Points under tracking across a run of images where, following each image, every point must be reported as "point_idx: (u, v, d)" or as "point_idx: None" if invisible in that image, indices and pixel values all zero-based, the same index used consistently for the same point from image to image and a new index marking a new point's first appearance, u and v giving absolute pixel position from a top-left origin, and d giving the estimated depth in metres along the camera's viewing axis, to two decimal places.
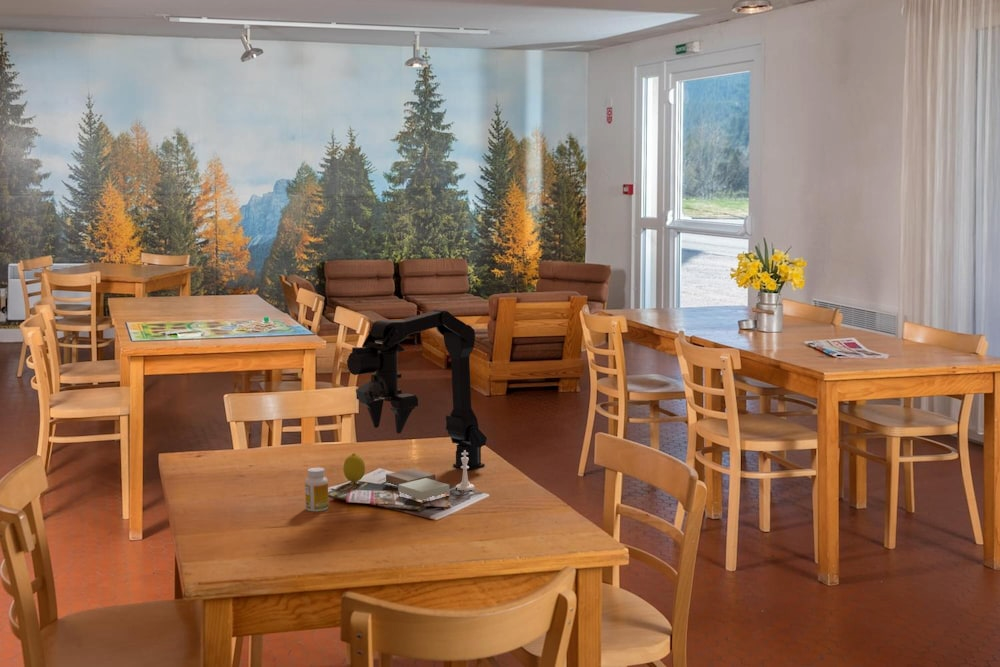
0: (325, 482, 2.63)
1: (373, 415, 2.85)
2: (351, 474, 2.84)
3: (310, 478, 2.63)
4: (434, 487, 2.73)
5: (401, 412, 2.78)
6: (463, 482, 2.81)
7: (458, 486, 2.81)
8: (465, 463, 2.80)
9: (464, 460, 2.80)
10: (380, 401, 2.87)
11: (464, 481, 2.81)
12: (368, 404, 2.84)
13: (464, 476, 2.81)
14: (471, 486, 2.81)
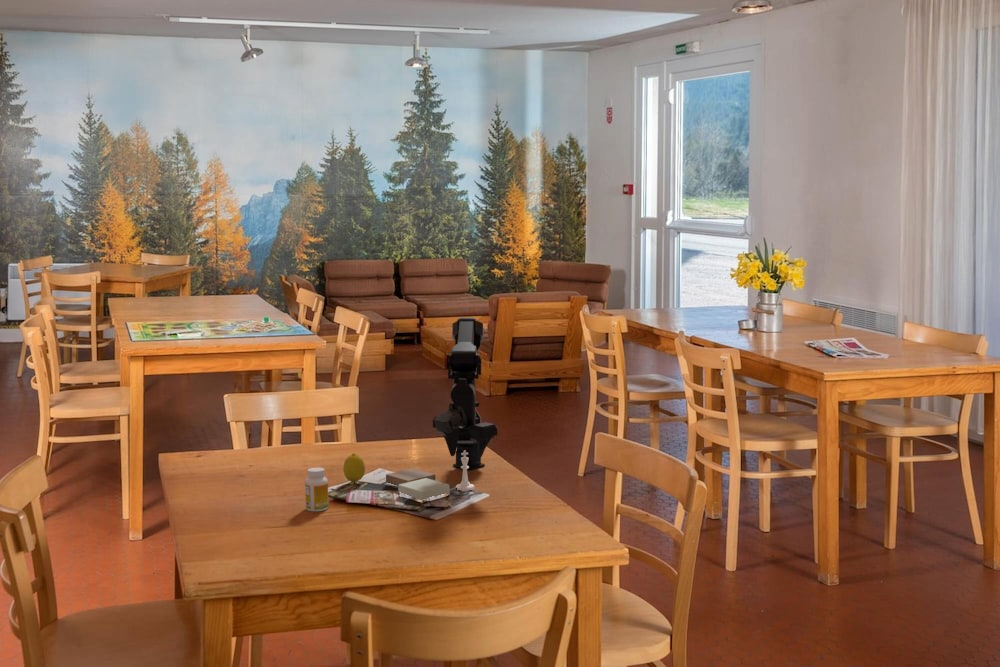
0: (325, 482, 2.63)
1: (450, 443, 2.83)
2: (351, 474, 2.84)
3: (310, 478, 2.63)
4: (434, 487, 2.73)
5: (480, 441, 2.76)
6: (463, 482, 2.81)
7: (458, 486, 2.81)
8: (465, 463, 2.80)
9: (464, 460, 2.80)
10: (456, 429, 2.85)
11: (464, 481, 2.81)
12: (445, 432, 2.82)
13: (464, 476, 2.81)
14: (471, 486, 2.81)
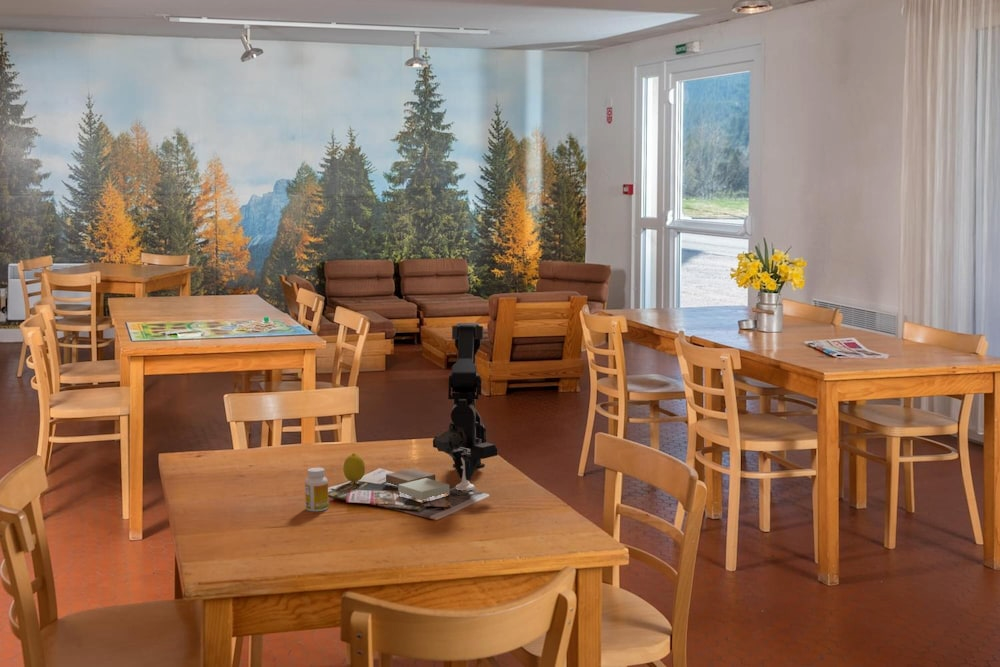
0: (325, 482, 2.63)
1: (459, 466, 2.82)
2: (351, 474, 2.84)
3: (310, 478, 2.63)
4: (434, 487, 2.73)
5: (471, 459, 2.79)
6: (463, 482, 2.81)
7: (458, 486, 2.81)
8: None
9: None
10: None
11: (464, 481, 2.81)
12: (454, 455, 2.81)
13: (464, 476, 2.81)
14: (471, 486, 2.81)
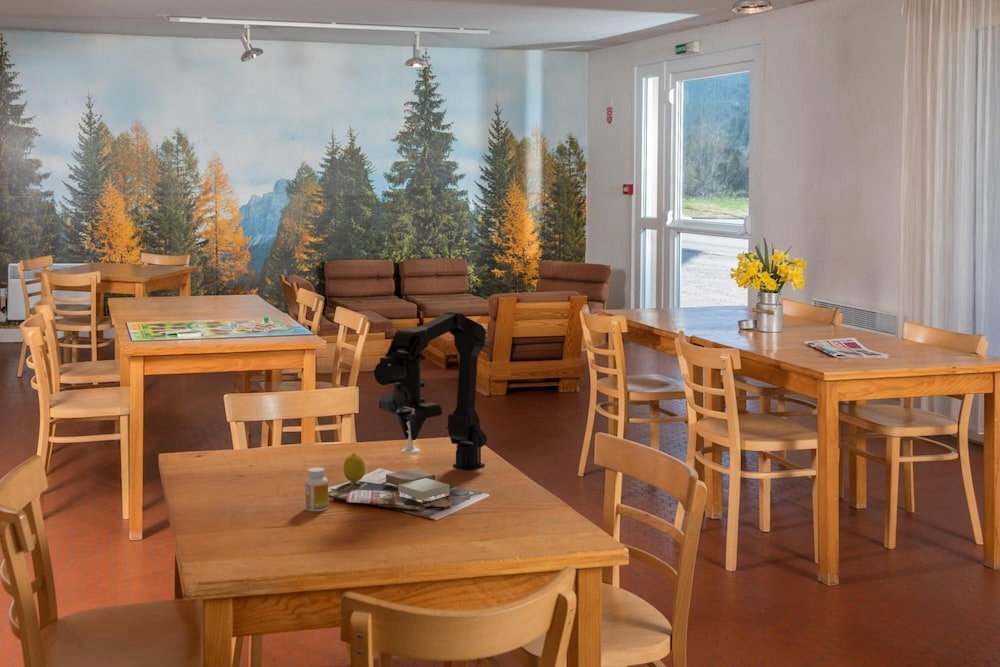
0: (325, 482, 2.63)
1: (404, 426, 2.83)
2: (351, 474, 2.84)
3: (310, 478, 2.63)
4: (434, 487, 2.73)
5: (416, 419, 2.81)
6: (408, 446, 2.83)
7: (403, 450, 2.83)
8: None
9: (409, 424, 2.82)
10: (411, 412, 2.85)
11: (409, 445, 2.83)
12: (399, 415, 2.82)
13: (409, 440, 2.83)
14: (416, 450, 2.82)
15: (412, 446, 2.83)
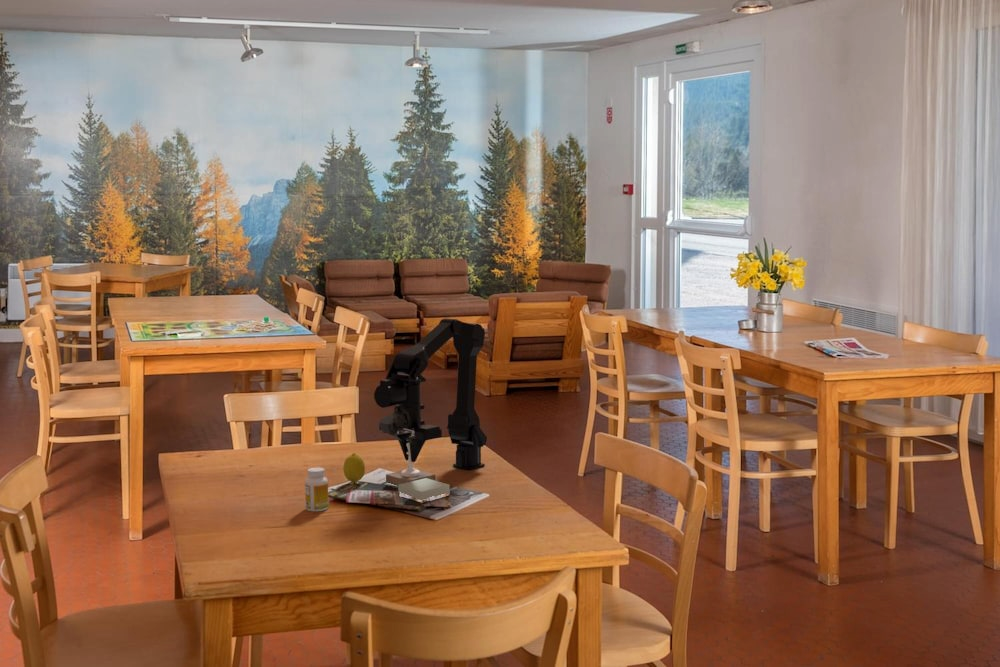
0: (325, 482, 2.63)
1: (404, 448, 2.84)
2: (351, 474, 2.84)
3: (310, 478, 2.63)
4: (434, 487, 2.73)
5: (416, 441, 2.82)
6: (408, 468, 2.83)
7: (403, 471, 2.83)
8: None
9: (409, 446, 2.83)
10: (411, 433, 2.86)
11: (409, 467, 2.83)
12: (399, 437, 2.83)
13: (409, 462, 2.83)
14: (416, 472, 2.83)
15: (412, 468, 2.84)
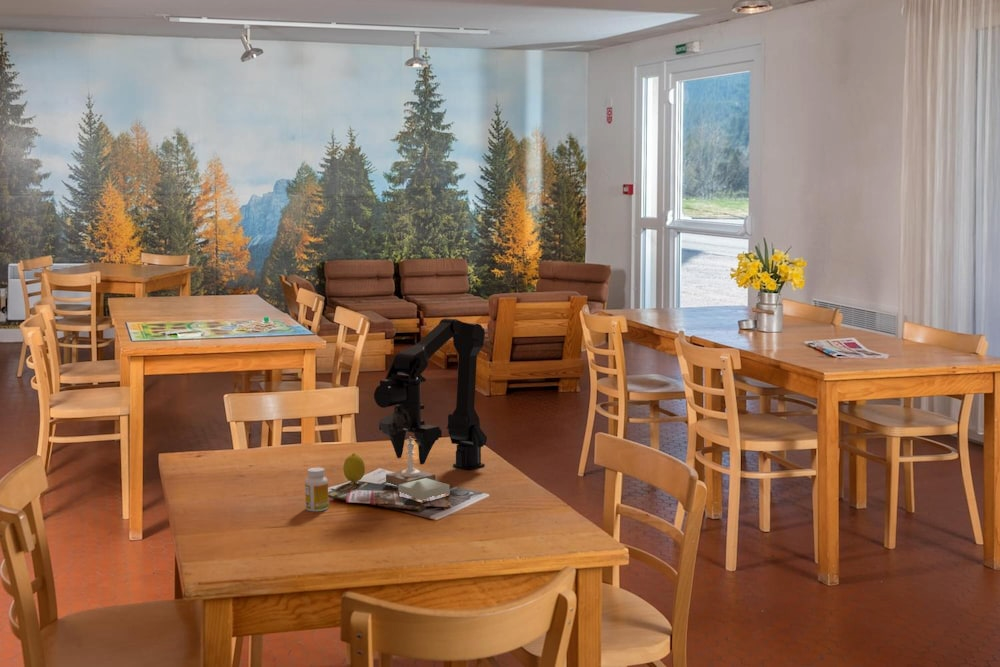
0: (325, 482, 2.63)
1: (396, 445, 2.86)
2: (351, 474, 2.84)
3: (310, 478, 2.63)
4: (434, 487, 2.73)
5: (424, 443, 2.79)
6: (408, 468, 2.83)
7: (403, 471, 2.83)
8: (410, 449, 2.83)
9: (409, 446, 2.83)
10: (403, 431, 2.88)
11: (409, 467, 2.83)
12: (391, 435, 2.85)
13: (409, 462, 2.83)
14: (416, 472, 2.83)
15: (412, 468, 2.84)
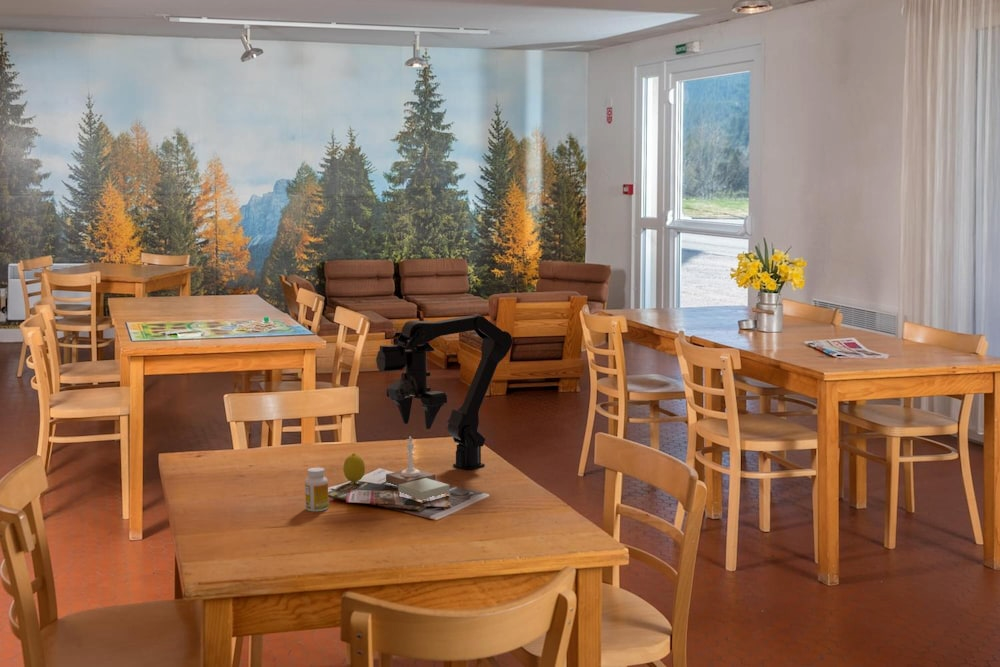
0: (325, 482, 2.63)
1: (403, 412, 2.97)
2: (351, 474, 2.84)
3: (310, 478, 2.63)
4: (434, 487, 2.73)
5: (430, 409, 2.90)
6: (408, 468, 2.83)
7: (403, 471, 2.83)
8: (410, 449, 2.83)
9: (409, 446, 2.83)
10: (409, 398, 2.99)
11: (409, 467, 2.83)
12: (398, 401, 2.96)
13: (409, 462, 2.83)
14: (416, 472, 2.83)
15: (412, 468, 2.84)
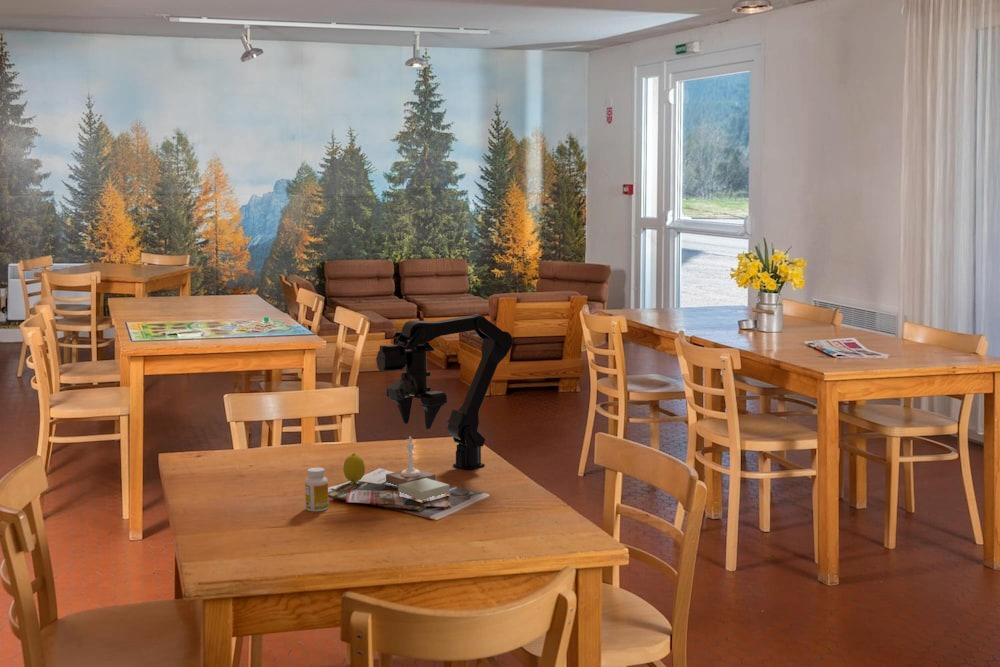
0: (325, 482, 2.63)
1: (403, 411, 2.97)
2: (351, 474, 2.84)
3: (310, 478, 2.63)
4: (434, 487, 2.73)
5: (430, 409, 2.90)
6: (408, 468, 2.83)
7: (403, 471, 2.83)
8: (410, 449, 2.83)
9: (409, 446, 2.83)
10: (409, 398, 2.99)
11: (409, 467, 2.83)
12: (398, 401, 2.96)
13: (409, 462, 2.83)
14: (416, 472, 2.83)
15: (412, 468, 2.84)
